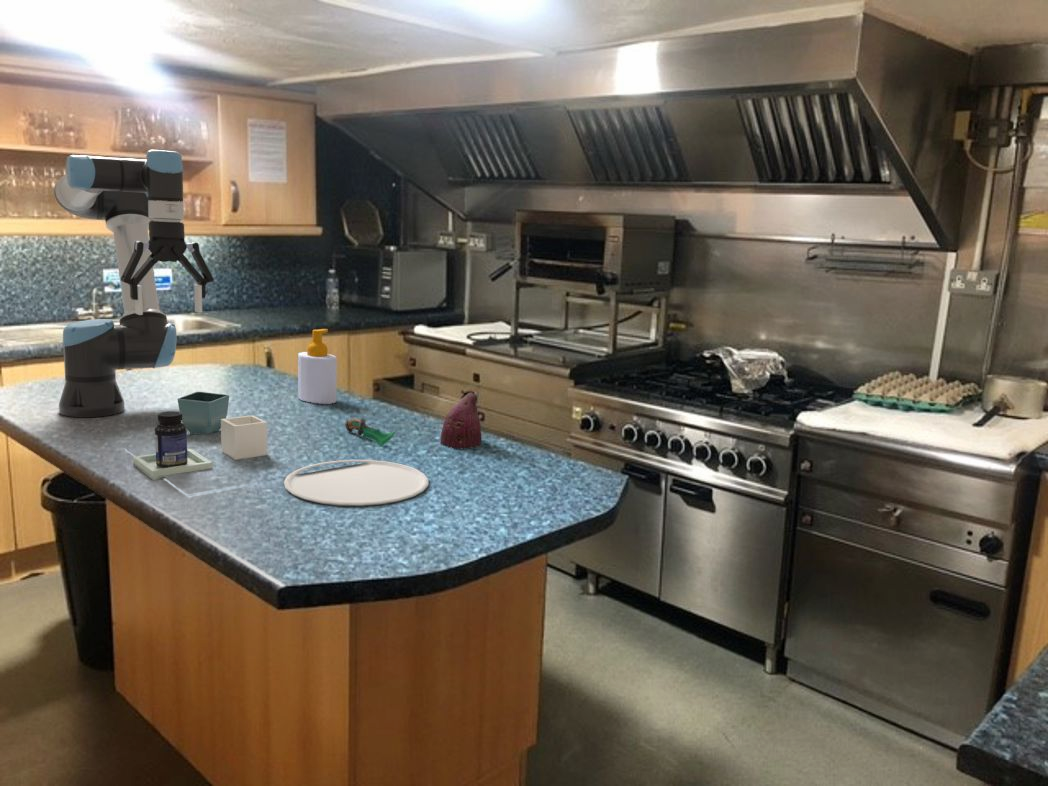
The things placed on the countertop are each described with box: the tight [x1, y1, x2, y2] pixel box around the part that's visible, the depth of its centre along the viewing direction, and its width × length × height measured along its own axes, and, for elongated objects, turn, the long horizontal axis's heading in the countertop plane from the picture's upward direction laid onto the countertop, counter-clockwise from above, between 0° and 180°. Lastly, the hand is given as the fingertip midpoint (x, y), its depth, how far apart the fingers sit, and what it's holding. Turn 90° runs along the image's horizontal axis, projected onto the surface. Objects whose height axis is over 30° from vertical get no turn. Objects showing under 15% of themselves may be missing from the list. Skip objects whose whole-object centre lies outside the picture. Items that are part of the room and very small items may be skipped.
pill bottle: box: [154, 410, 188, 468], centre depth 179 cm, size 6×6×11 cm
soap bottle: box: [297, 328, 338, 405], centre depth 246 cm, size 13×8×20 cm, turn 58°
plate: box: [283, 459, 429, 507], centre depth 176 cm, size 29×29×1 cm
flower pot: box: [177, 391, 230, 435], centre depth 207 cm, size 9×9×9 cm
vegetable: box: [440, 390, 482, 450], centre depth 209 cm, size 10×10×15 cm
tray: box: [132, 448, 213, 481], centre depth 180 cm, size 12×12×2 cm
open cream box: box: [220, 414, 268, 460], centre depth 190 cm, size 7×7×8 cm
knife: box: [344, 418, 396, 446], centre depth 208 cm, size 21×2×5 cm, turn 43°
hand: (169, 313), depth 201 cm, fingers open, 13 cm apart
